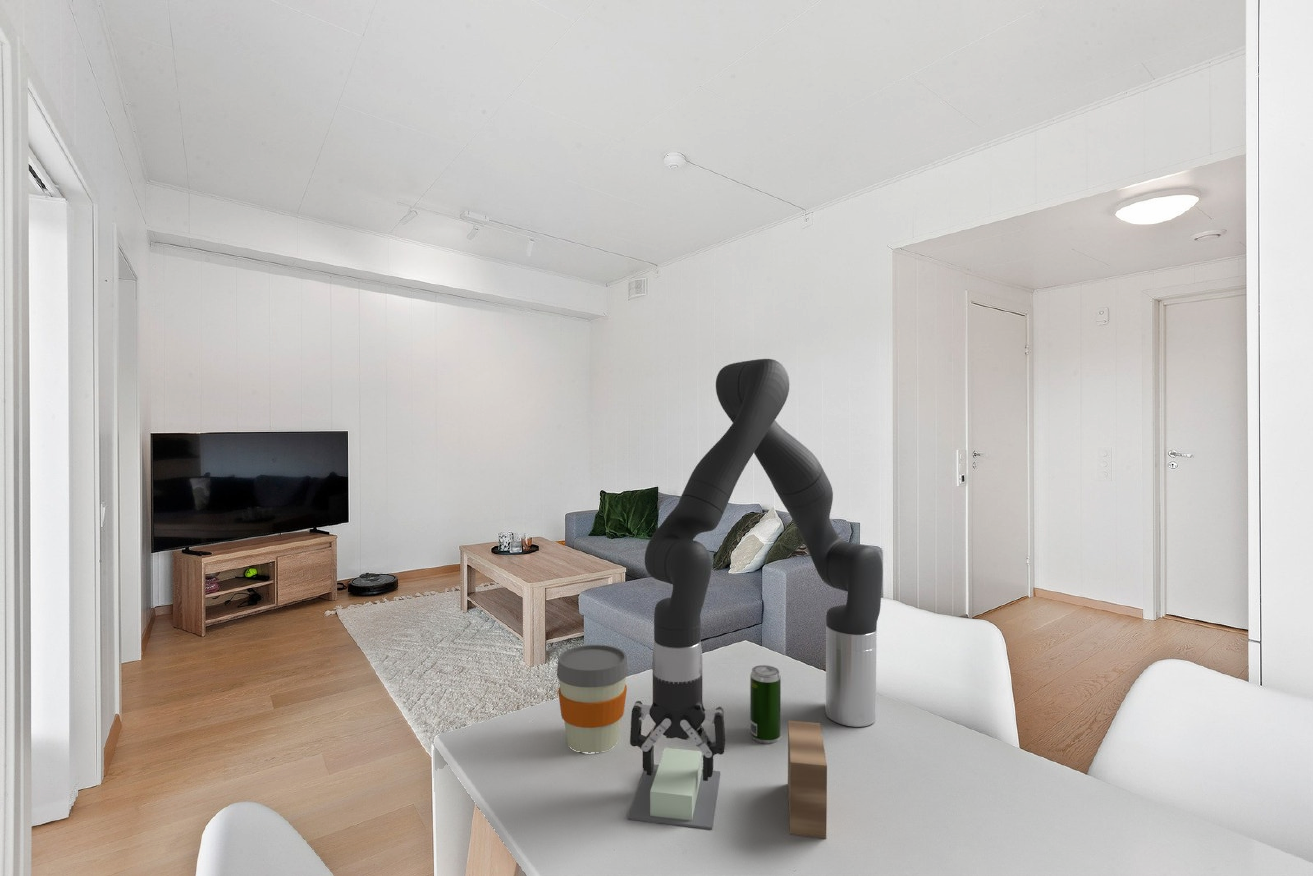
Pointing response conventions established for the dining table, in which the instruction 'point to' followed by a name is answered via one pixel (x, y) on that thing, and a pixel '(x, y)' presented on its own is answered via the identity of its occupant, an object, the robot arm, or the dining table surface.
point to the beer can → (765, 704)
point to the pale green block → (676, 784)
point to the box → (807, 780)
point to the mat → (700, 819)
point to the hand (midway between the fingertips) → (677, 775)
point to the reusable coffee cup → (592, 695)
